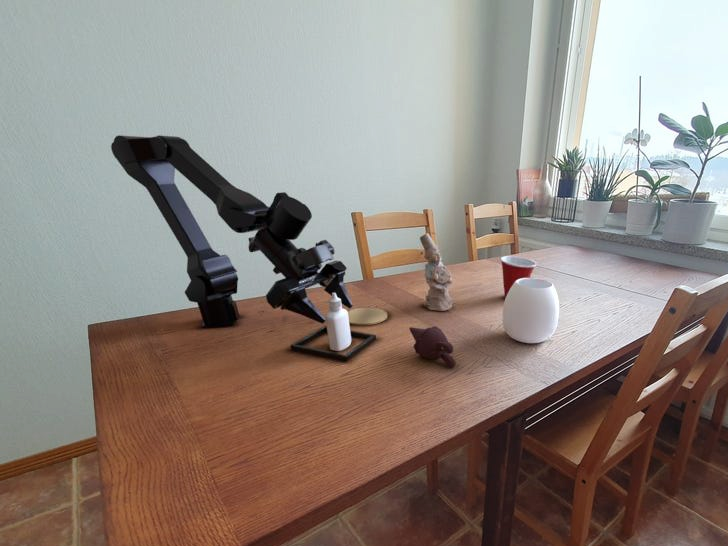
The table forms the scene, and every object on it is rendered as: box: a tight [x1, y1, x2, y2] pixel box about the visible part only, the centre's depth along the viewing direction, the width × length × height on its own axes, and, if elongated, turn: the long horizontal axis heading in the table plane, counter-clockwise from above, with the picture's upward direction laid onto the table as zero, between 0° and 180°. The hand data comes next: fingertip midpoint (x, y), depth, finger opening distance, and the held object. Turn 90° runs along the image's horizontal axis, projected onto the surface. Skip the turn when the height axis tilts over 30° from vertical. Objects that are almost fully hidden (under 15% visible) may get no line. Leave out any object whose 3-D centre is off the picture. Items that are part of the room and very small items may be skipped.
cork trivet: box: [347, 307, 388, 326], centre depth 96 cm, size 11×11×1 cm
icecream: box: [408, 326, 457, 368], centre depth 78 cm, size 7×7×15 cm
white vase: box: [501, 277, 560, 344], centre depth 88 cm, size 13×13×14 cm
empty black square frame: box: [289, 325, 377, 363], centre depth 82 cm, size 13×11×1 cm
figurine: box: [419, 232, 453, 312], centre depth 101 cm, size 9×8×20 cm
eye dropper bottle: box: [325, 293, 352, 352], centre depth 79 cm, size 4×6×12 cm
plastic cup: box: [500, 255, 537, 299], centre depth 113 cm, size 11×11×12 cm
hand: (338, 314), depth 78 cm, fingers open, 9 cm apart
